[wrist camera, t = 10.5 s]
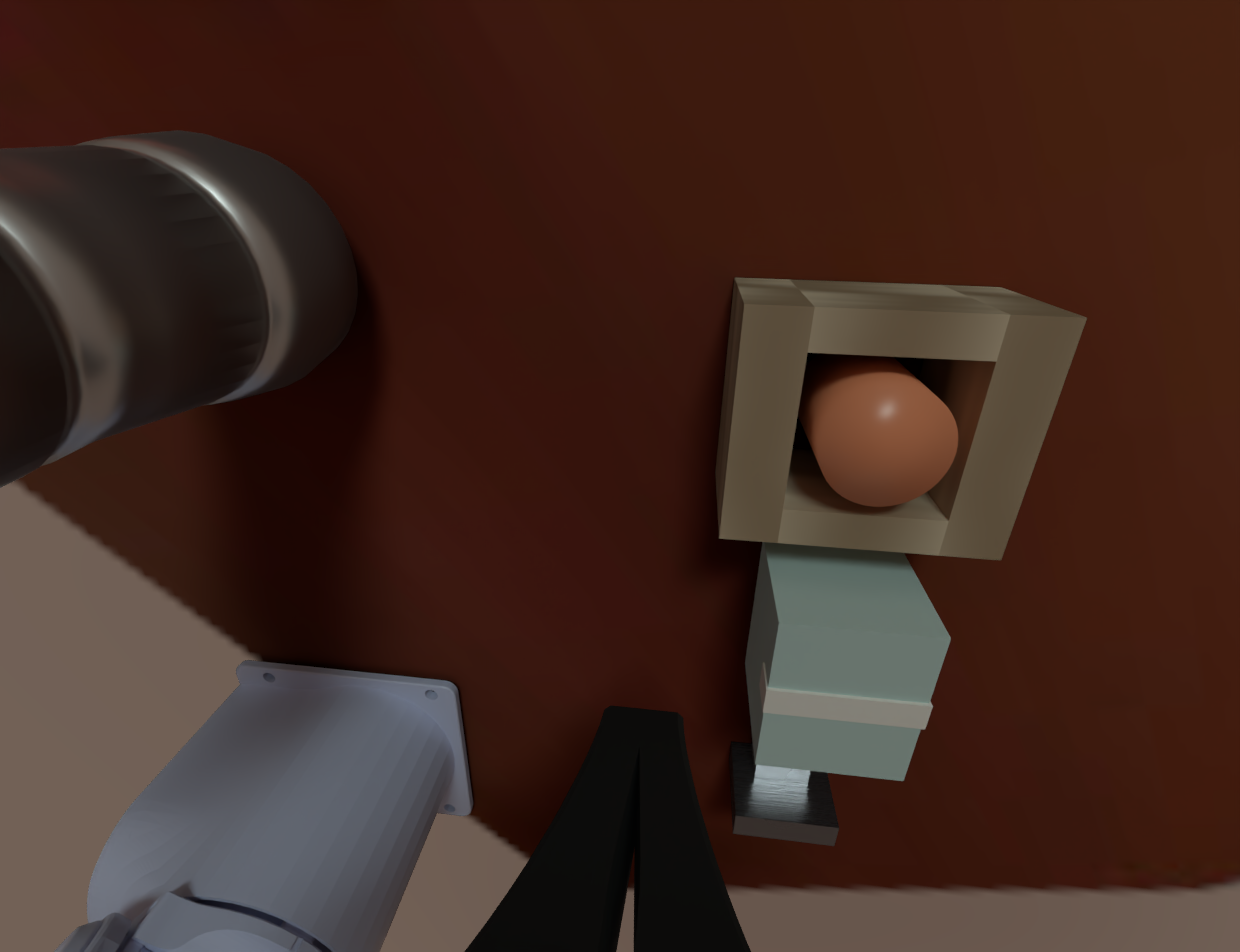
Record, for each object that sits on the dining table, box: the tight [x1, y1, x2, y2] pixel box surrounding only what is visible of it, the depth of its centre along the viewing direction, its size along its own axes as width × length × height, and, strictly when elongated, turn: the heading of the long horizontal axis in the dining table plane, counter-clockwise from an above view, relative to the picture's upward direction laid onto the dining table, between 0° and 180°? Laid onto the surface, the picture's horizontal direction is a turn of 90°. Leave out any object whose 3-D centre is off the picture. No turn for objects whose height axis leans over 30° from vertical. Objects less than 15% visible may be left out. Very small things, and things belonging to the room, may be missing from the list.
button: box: [798, 353, 958, 507], centre depth 16 cm, size 3×3×4 cm
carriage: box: [745, 542, 951, 781], centre depth 17 cm, size 4×5×4 cm
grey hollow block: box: [715, 278, 1087, 560], centre depth 16 cm, size 7×6×4 cm
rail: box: [729, 740, 839, 846], centre depth 21 cm, size 4×13×3 cm, turn 179°
